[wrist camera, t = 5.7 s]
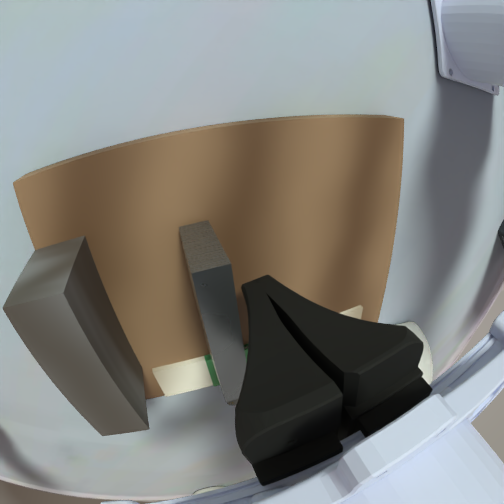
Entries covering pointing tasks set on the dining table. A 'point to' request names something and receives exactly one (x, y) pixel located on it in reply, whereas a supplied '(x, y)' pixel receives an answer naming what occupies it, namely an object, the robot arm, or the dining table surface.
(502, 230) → the small box
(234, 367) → the pad
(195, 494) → the supplement bottle
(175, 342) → the board
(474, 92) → the dining table surface
